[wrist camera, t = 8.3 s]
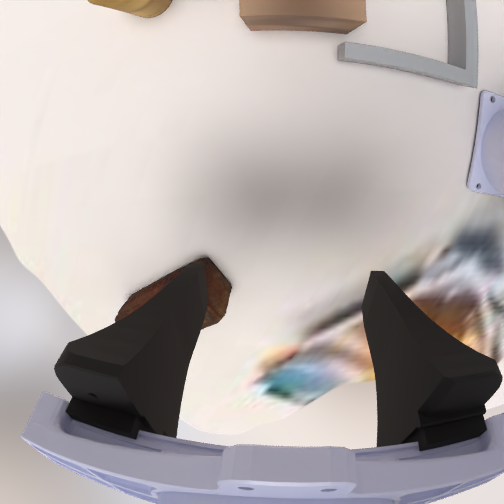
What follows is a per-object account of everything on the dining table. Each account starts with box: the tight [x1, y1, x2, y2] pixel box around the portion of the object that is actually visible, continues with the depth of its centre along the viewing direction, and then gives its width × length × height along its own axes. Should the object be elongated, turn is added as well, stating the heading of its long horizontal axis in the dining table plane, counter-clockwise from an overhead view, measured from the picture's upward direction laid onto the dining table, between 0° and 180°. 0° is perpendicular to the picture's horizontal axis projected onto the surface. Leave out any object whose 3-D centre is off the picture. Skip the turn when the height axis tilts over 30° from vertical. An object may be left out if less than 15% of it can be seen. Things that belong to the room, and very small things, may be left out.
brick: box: [115, 258, 232, 330], centre depth 25 cm, size 11×4×5 cm, turn 124°
